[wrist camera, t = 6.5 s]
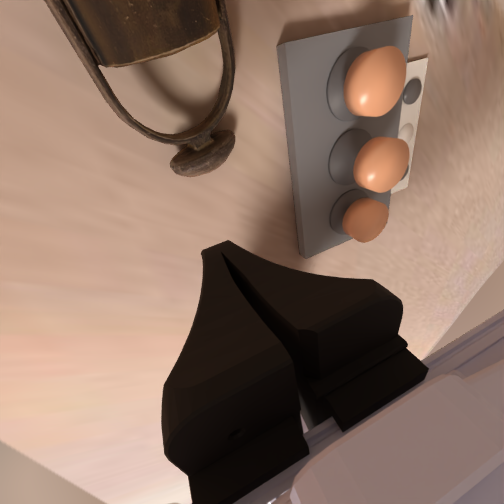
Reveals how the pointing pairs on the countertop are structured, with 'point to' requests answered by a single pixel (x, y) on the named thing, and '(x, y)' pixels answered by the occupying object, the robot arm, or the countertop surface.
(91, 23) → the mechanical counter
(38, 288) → the countertop surface
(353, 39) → the board
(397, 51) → the button
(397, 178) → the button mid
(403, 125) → the card
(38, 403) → the countertop surface
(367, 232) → the button
